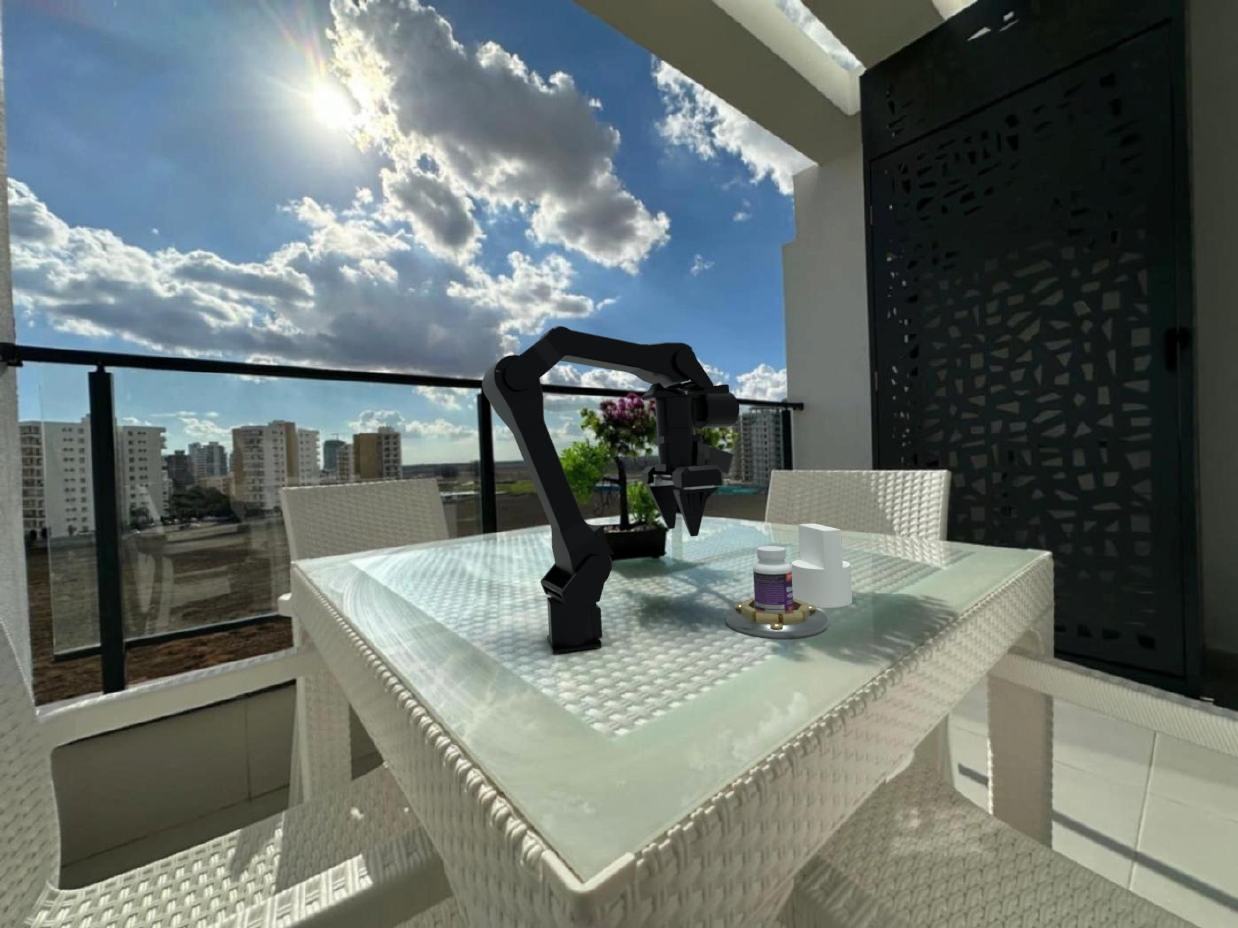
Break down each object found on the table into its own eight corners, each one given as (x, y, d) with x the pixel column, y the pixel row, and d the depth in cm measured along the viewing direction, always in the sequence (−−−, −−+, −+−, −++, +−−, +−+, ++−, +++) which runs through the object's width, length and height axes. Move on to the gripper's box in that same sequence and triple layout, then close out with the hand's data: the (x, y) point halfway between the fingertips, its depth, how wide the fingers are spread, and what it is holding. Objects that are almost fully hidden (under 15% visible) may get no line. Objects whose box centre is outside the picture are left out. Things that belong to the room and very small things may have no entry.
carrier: (757, 644, 66) (756, 625, 66) (710, 615, 80) (709, 598, 80) (849, 630, 70) (849, 611, 70) (790, 603, 84) (789, 588, 84)
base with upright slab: (784, 595, 89) (780, 525, 89) (833, 591, 90) (830, 522, 90) (809, 609, 80) (805, 532, 80) (863, 605, 81) (860, 528, 81)
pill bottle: (796, 621, 72) (793, 551, 72) (756, 621, 73) (753, 551, 73) (791, 609, 77) (787, 544, 77) (753, 609, 78) (750, 545, 78)
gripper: (754, 422, 72) (761, 534, 72) (699, 431, 90) (705, 521, 90) (679, 425, 69) (686, 543, 69) (638, 434, 87) (644, 527, 87)
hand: (682, 532), depth 79 cm, fingers open, 9 cm apart
